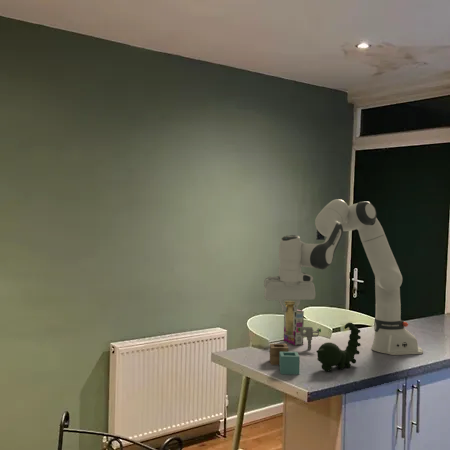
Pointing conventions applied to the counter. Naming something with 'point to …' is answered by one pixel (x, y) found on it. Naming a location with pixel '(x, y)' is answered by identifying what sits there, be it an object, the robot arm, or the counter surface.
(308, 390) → the counter surface
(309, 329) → the mechanical component
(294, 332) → the candy bar box
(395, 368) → the counter surface
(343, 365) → the toy figurine
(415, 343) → the robot arm
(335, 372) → the counter surface
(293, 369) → the socket block
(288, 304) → the lock pin
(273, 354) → the pin mount
